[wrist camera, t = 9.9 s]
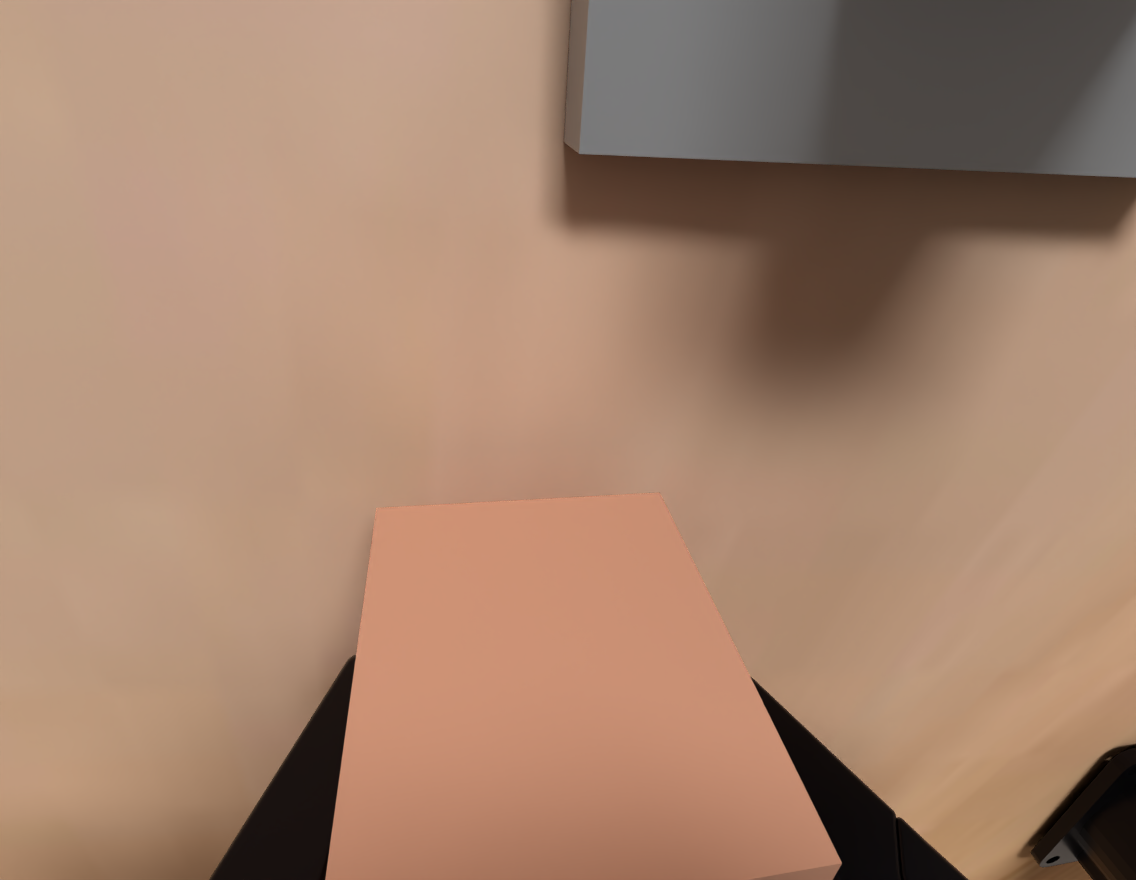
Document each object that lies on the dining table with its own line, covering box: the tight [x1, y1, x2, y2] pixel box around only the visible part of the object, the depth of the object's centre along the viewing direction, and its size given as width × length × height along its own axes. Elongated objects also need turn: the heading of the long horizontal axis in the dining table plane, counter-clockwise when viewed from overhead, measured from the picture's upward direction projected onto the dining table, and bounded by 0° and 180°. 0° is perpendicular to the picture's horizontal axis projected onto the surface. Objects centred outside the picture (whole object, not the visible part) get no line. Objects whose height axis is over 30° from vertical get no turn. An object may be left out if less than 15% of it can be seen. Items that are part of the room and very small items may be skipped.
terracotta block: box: [325, 493, 842, 880], centre depth 8 cm, size 4×4×5 cm
